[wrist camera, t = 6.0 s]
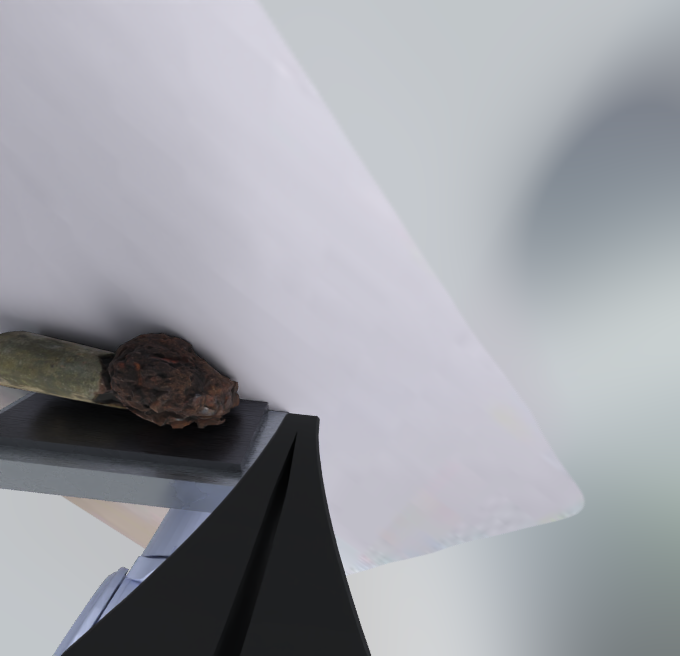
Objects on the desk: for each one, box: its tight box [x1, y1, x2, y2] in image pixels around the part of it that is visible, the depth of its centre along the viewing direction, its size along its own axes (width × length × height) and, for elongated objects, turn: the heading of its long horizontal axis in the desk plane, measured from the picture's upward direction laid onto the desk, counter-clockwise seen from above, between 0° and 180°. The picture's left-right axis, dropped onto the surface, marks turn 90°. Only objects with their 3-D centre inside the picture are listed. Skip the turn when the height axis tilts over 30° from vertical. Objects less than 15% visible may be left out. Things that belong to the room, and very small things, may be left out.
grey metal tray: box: [0, 391, 288, 513], centre depth 21 cm, size 5×24×7 cm, turn 85°
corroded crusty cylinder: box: [0, 331, 239, 429], centre depth 19 cm, size 18×7×6 cm, turn 79°
